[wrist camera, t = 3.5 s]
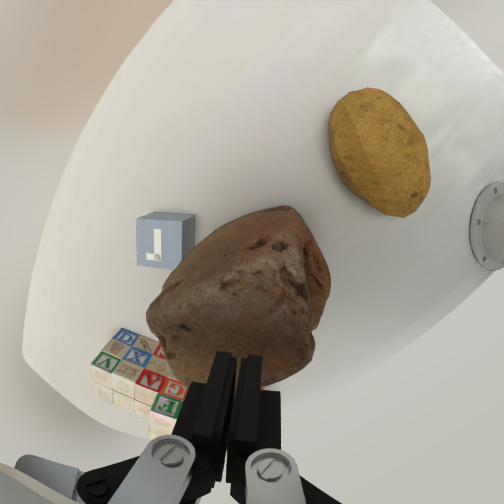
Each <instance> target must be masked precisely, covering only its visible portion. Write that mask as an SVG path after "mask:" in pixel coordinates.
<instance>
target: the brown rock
mask: <svg viewBox="0 0 504 504" xmlns="http://www.w3.org/2000/svg"><path fill="white" fill-rule="evenodd" d="M330 286H331V278H330V273H329V269H328V266H327V263H326V261H325V259H324V257H323V255H322V253H321V251H320V249H319V247H318V245H317V243H316V241H315V239H314V237H313V235H312V233H311V232H310V230H309V228H308V227H307V225H306V224H305V222H304V220H303V219H302V218H301V216H300V215H299V214H298V212H297V211H296V210H294V209H293V208H291V207H290V206H279V207H274V208H269V209H265V210H261V211H257V212H254V213H251V214H248V215H245V216H243V217H240V218H238V219H236V220H234V221H231V222H229V223H227V224H225V225H224V226H222V227H220V228H219V229H217V230H215V231H214V232H213V233H211V234H210V235H209V236H207V237H206V238H205V239H204V240H203V241H201V242H200V243H199V244H198V245H197V246H196V247H195V248H194V249H193V250H192V251H191V252H190V253H189V254H188V255H187V256H186V257H185V258H184V259H183V260H182V261H181V262H180V263H179V264H178V266H177V267H176V269H175V270H173V271H172V273H171V274H170V275H169V277H168V278H167V280H166V281H165V283H164V285H163V287H162V292H161V294H160V295H159V296H158V297H157V298H156V299H155V300H154V301H153V302H152V303H151V304H150V306H149V308H148V310H147V312H146V321H147V323H148V326H149V329H150V330H151V332H152V333H153V334H155V336H157V337H158V339H159V341H160V344H161V346H162V349H163V352H164V355H165V359H166V361H167V363H168V365H169V367H170V369H171V371H172V372H173V374H174V376H175V378H176V379H177V380H178V381H179V382H181V383H182V384H183V385H184V386H185V388H186V389H187V390H188V388H189V386H190V384H191V382H192V381H194V382H200V383H206V384H207V380H208V377H209V374H210V371H211V367H212V364H213V361H214V358H215V355H216V352H217V351H224V352H232V356H233V357H237V367H236V383H235V393H236V387H237V381H238V375H239V369H240V364H241V358H247V357H248V354H250V355H260V356H263V357H262V373H261V387H260V388H262V387H265V386H268V385H271V384H273V383H276V382H279V381H281V380H284V379H286V378H288V377H290V376H292V375H293V374H295V373H297V372H298V371H300V370H302V369H303V368H305V367H306V366H307V365H308V364H309V362H310V361H311V360H312V356H313V353H314V350H315V341H314V337H313V335H312V333H311V332H312V331H313V330H314V329H315V328H317V326H318V324H319V321H320V318H321V316H322V315H323V310H324V307H325V304H326V300H327V299H328V297H329V294H330Z"/></svg>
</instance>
